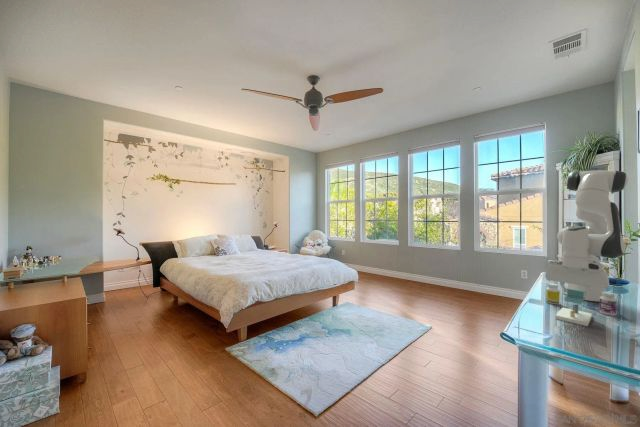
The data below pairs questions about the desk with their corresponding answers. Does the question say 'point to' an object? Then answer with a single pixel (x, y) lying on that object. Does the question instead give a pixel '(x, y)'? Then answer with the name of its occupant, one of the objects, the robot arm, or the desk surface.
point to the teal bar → (575, 296)
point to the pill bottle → (608, 304)
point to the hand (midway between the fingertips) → (575, 294)
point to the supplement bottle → (552, 294)
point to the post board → (574, 316)
